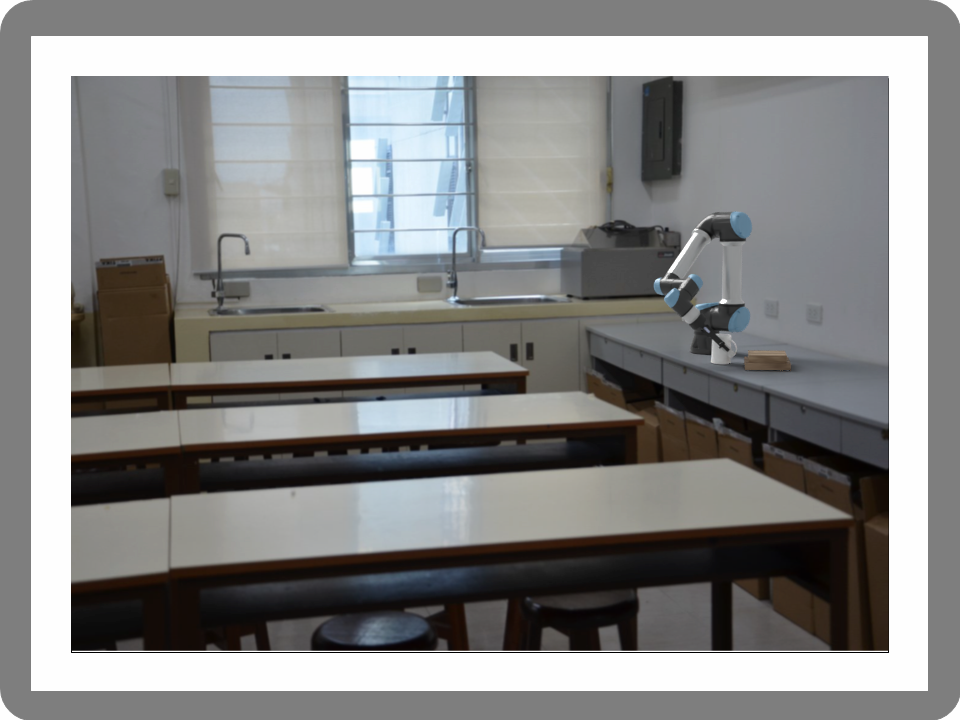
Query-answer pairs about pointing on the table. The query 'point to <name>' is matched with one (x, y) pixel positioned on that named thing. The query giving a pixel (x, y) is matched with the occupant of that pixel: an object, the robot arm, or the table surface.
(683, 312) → the robot arm
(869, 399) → the table surface
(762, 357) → the pedestal
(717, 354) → the mug
